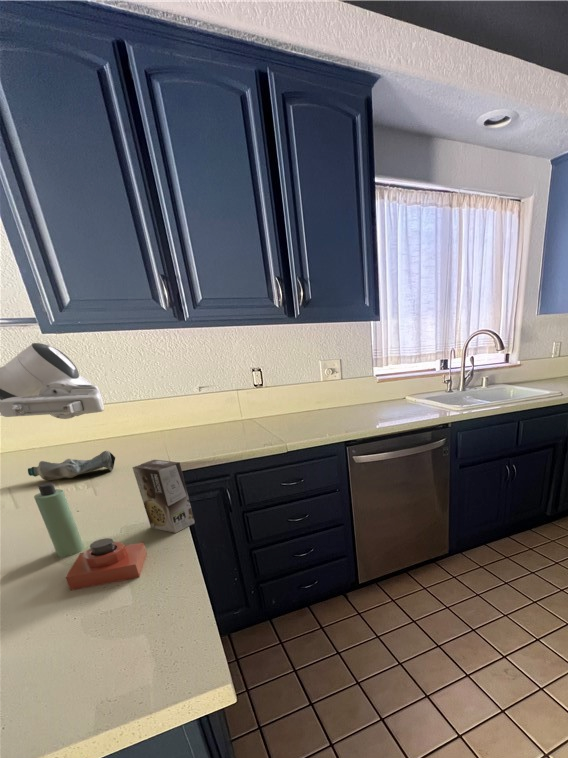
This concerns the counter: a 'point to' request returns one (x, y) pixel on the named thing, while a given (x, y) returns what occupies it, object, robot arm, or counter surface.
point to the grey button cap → (102, 547)
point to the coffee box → (164, 495)
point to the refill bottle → (58, 520)
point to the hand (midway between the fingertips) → (42, 410)
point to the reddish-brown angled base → (107, 566)
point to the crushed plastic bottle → (72, 467)
